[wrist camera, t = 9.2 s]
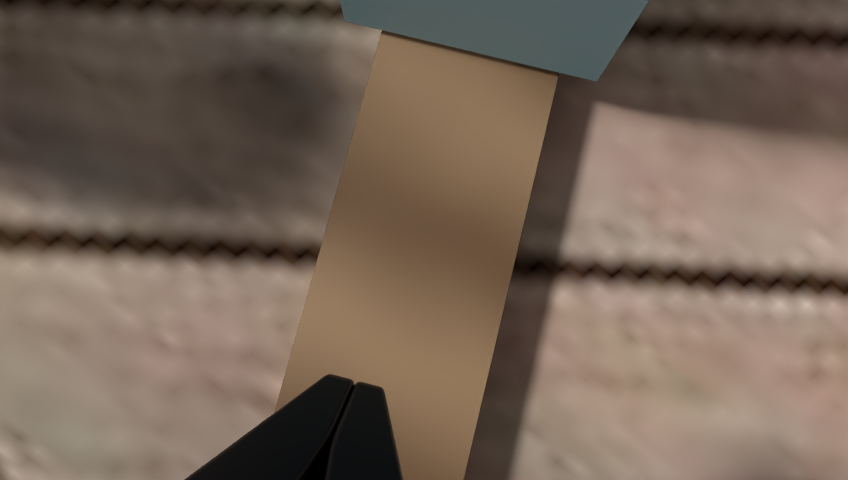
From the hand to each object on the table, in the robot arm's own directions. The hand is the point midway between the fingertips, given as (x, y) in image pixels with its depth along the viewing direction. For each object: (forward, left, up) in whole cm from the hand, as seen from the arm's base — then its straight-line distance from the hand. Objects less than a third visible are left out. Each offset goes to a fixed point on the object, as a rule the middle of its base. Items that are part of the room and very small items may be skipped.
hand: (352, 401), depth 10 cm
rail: (+1, -3, -9) cm, 10 cm away
